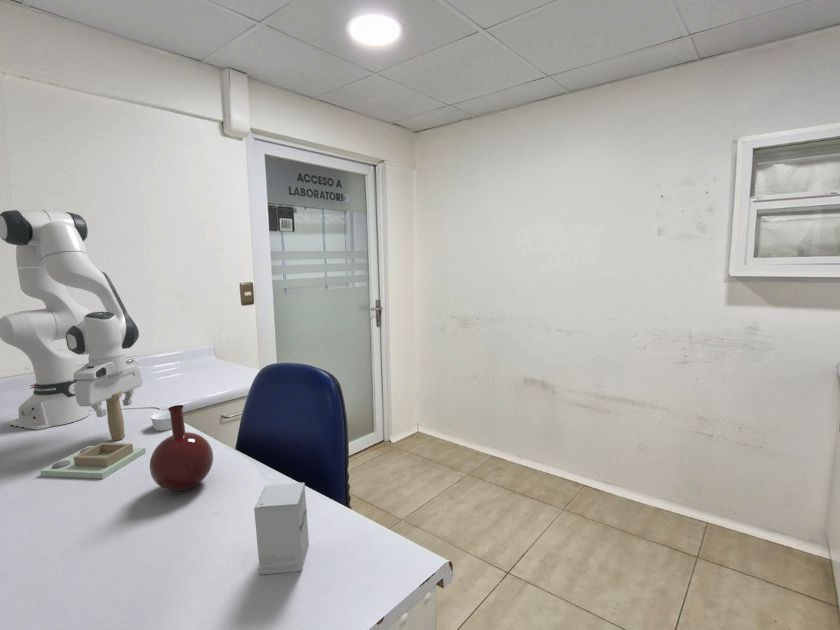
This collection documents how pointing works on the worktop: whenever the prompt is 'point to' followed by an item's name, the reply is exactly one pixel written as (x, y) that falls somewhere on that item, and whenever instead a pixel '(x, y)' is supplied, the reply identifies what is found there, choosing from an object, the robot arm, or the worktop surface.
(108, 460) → the green board with frame
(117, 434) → the handle
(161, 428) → the ramekin
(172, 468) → the round-bottom flask
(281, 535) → the supplement box
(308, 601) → the worktop surface
